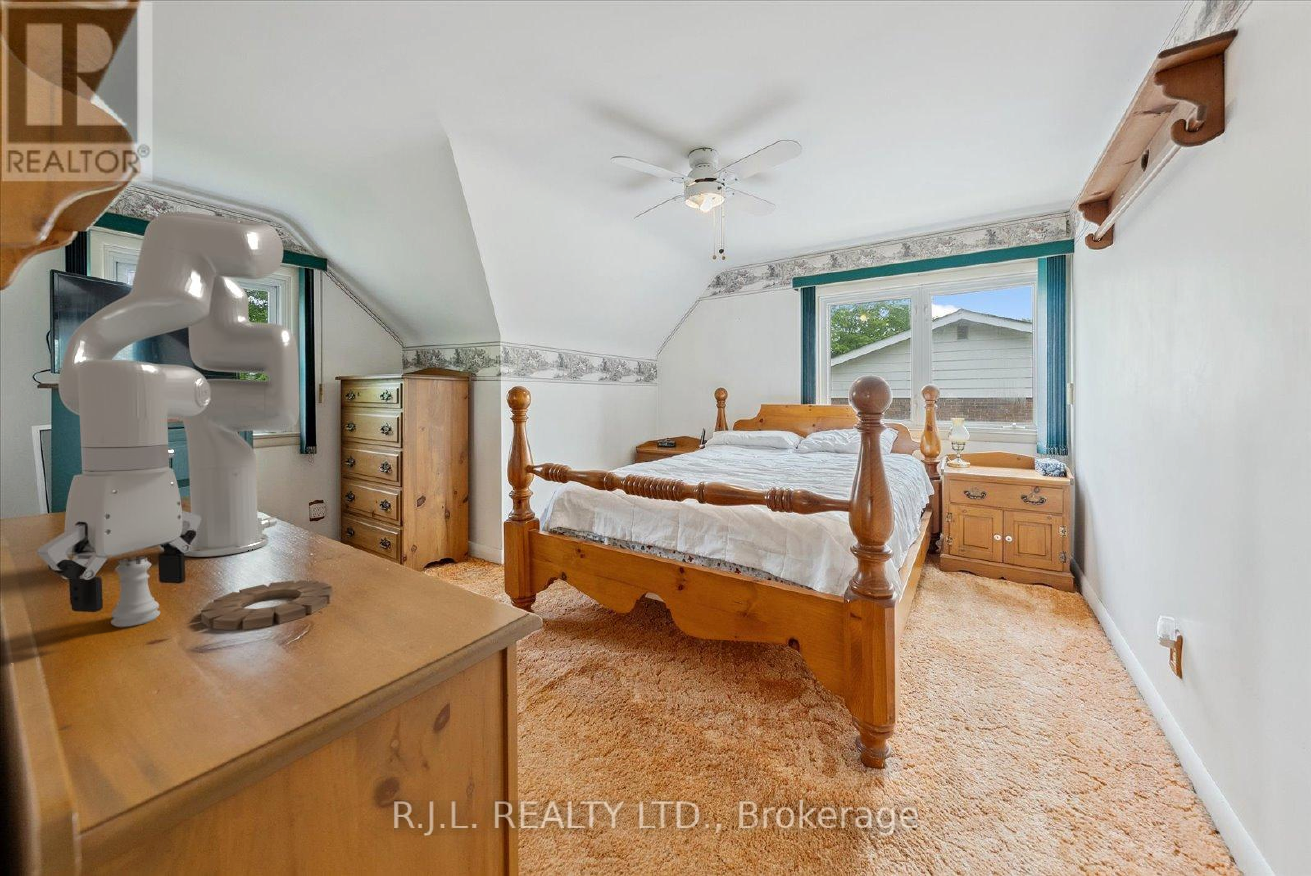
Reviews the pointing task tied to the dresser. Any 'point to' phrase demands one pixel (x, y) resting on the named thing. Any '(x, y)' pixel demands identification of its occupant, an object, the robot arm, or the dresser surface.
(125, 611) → the rook chess piece
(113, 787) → the dresser surface
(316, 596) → the walnut ring
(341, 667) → the dresser surface
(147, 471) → the robot arm
